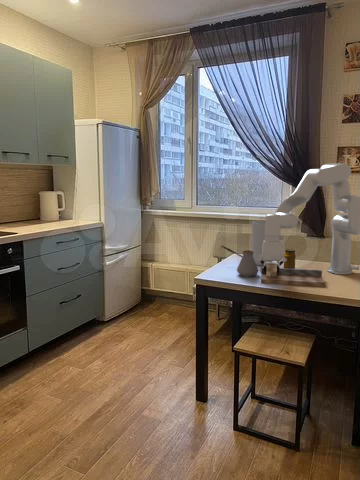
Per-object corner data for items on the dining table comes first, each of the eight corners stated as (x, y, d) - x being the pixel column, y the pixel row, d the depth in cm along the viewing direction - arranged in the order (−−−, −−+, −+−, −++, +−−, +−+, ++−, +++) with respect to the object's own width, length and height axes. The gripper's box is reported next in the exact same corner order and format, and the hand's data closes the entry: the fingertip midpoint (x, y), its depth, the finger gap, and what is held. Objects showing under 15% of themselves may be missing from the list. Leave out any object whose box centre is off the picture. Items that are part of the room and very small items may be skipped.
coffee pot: (260, 273, 200) (261, 246, 197) (255, 279, 190) (255, 250, 187) (223, 269, 209) (224, 243, 206) (216, 274, 199) (216, 247, 196)
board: (321, 279, 188) (321, 270, 187) (324, 286, 176) (325, 276, 175) (261, 276, 194) (261, 267, 193) (260, 283, 183) (261, 273, 182)
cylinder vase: (249, 264, 218) (250, 223, 214) (253, 260, 230) (254, 220, 225) (270, 266, 214) (272, 224, 209) (273, 261, 225) (275, 221, 220)
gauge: (276, 273, 191) (276, 262, 190) (276, 279, 181) (277, 267, 180) (266, 273, 192) (266, 261, 191) (266, 278, 182) (266, 266, 181)
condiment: (280, 269, 208) (281, 248, 205) (294, 268, 209) (295, 248, 207) (286, 273, 201) (287, 251, 198) (300, 272, 202) (302, 250, 200)
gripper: (289, 237, 187) (288, 272, 190) (255, 236, 190) (254, 270, 194) (290, 240, 179) (289, 276, 183) (255, 239, 183) (254, 274, 187)
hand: (271, 272), depth 188 cm, fingers closed on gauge, 5 cm apart
